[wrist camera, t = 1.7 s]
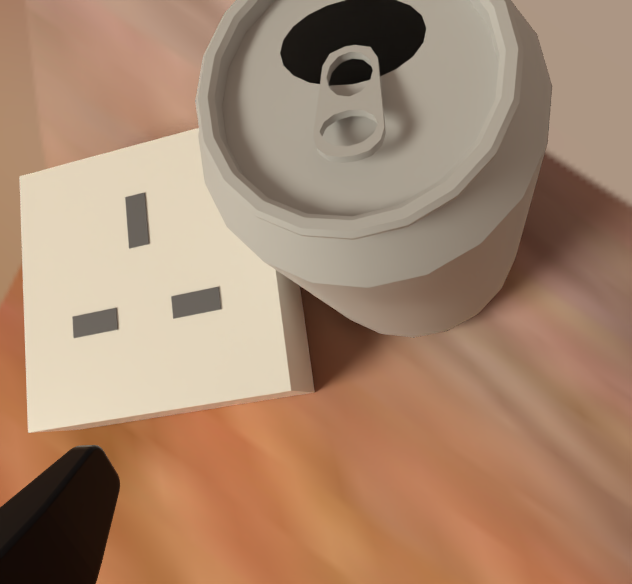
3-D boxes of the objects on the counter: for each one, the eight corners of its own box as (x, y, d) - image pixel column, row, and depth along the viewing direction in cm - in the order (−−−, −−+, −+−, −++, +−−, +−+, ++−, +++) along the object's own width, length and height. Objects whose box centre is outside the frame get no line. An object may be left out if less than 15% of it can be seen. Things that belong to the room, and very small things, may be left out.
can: (508, 133, 22) (544, -154, 11) (525, 335, 21) (587, 251, 9) (313, 157, 24) (165, -66, 13) (316, 344, 23) (153, 283, 11)
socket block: (314, 392, 22) (290, 390, 19) (80, 429, 24) (27, 432, 21) (280, 146, 24) (254, 112, 21) (68, 200, 27) (18, 175, 24)
